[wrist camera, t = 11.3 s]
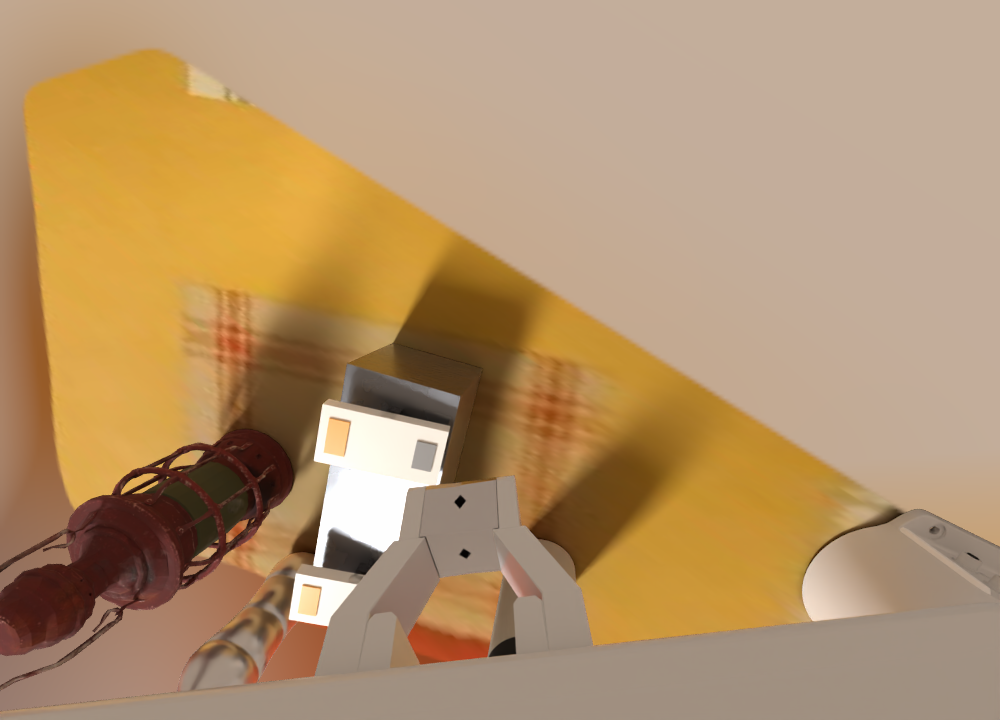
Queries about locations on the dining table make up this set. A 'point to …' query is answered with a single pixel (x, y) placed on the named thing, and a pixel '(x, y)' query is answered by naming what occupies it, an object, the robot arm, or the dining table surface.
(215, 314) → the dining table surface
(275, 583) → the silver tall rounded piece
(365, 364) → the switch box
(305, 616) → the block
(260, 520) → the lantern
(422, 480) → the rocker on
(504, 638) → the travel mug
